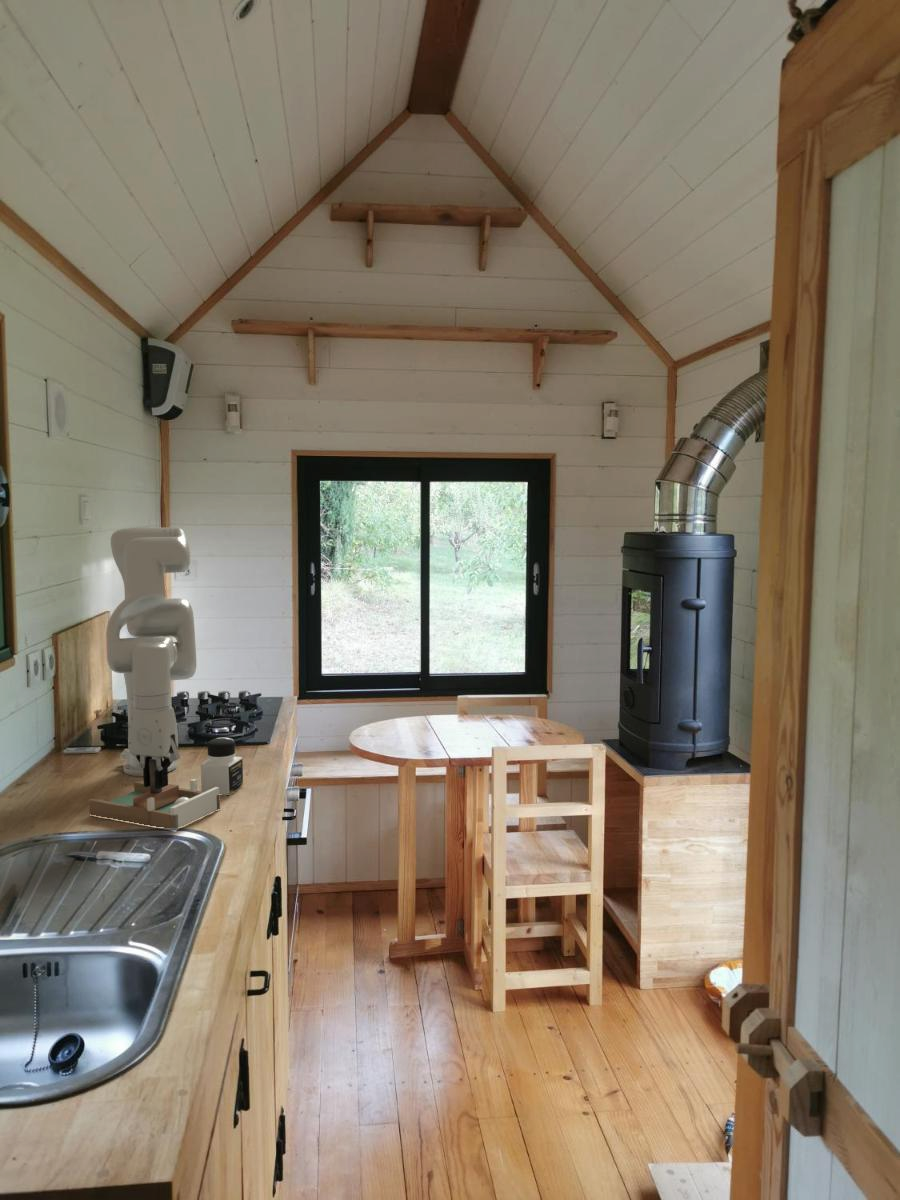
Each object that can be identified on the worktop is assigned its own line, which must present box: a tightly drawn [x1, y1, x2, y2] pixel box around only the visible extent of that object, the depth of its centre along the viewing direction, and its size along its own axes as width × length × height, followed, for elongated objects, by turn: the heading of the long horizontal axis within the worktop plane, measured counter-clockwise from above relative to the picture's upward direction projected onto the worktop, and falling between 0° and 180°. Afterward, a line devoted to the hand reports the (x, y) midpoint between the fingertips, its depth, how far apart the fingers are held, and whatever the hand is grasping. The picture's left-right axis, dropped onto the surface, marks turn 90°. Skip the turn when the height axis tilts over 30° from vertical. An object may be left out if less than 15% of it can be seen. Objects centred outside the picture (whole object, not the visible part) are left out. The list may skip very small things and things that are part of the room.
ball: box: [174, 797, 189, 806], centre depth 183 cm, size 4×4×4 cm
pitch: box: [88, 778, 221, 828], centre depth 186 cm, size 23×14×6 cm, turn 66°
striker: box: [133, 758, 180, 809], centre depth 185 cm, size 3×10×10 cm, turn 156°
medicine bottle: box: [200, 737, 244, 796], centre depth 200 cm, size 7×7×12 cm
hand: (156, 785), depth 185 cm, fingers closed on striker, 2 cm apart
